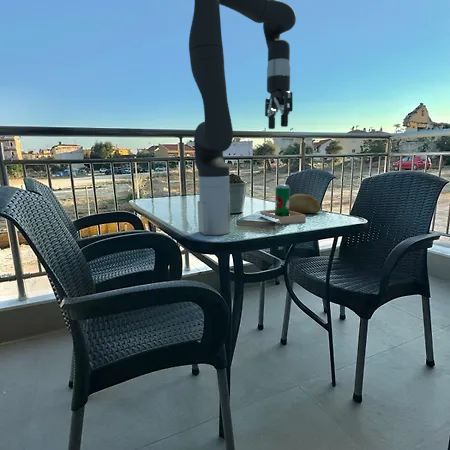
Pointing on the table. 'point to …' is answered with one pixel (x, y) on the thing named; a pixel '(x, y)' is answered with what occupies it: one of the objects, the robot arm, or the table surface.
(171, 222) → the table surface
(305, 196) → the bread roll
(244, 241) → the table surface
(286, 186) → the soda can
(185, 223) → the table surface
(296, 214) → the tray
